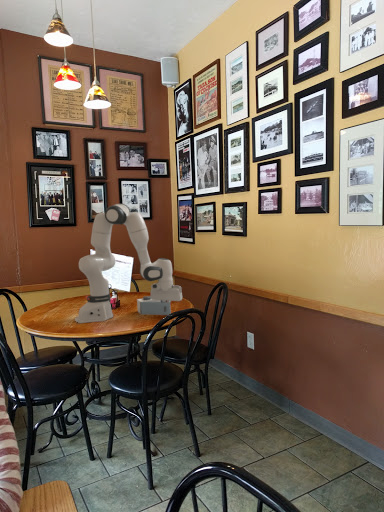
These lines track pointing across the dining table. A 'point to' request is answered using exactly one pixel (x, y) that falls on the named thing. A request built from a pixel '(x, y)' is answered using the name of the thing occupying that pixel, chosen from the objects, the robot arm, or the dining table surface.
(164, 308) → the case door
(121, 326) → the dining table surface
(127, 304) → the dining table surface
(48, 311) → the dining table surface
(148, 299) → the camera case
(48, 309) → the dining table surface
